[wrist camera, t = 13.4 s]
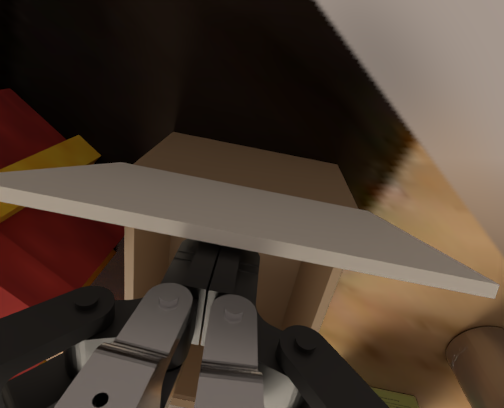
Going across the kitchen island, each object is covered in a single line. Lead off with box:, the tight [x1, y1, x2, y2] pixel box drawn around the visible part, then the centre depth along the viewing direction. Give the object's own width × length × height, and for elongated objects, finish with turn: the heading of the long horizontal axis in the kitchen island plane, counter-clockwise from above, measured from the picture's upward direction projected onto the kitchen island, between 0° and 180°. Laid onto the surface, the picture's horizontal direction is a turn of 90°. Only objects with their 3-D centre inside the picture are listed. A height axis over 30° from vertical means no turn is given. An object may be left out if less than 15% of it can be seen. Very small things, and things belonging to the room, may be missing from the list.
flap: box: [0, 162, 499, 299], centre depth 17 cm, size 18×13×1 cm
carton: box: [124, 132, 358, 402], centre depth 35 cm, size 18×26×12 cm
